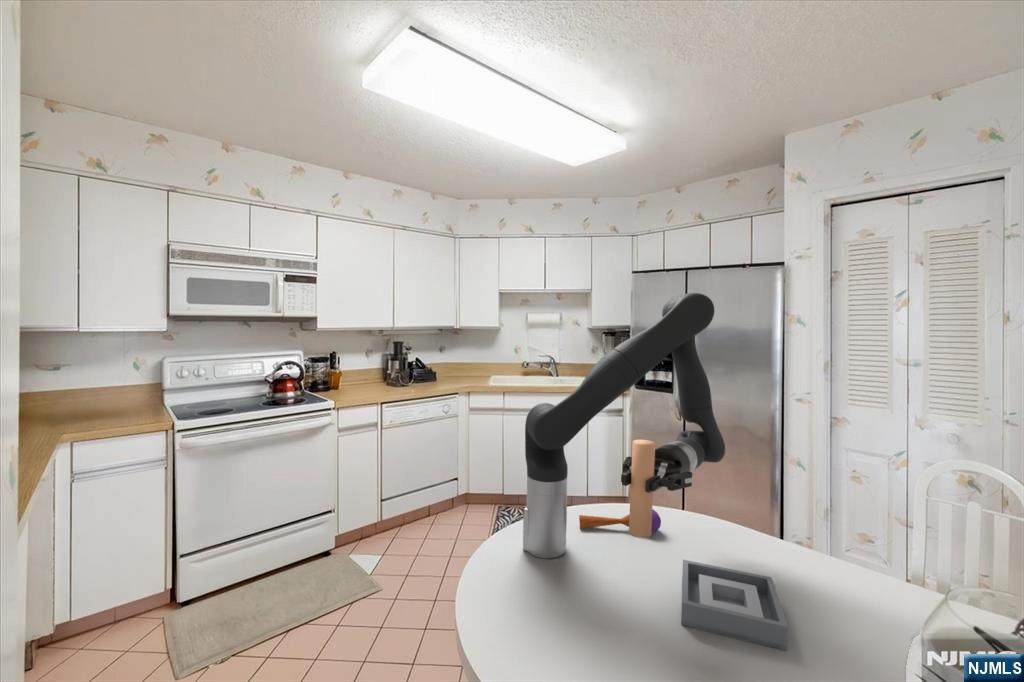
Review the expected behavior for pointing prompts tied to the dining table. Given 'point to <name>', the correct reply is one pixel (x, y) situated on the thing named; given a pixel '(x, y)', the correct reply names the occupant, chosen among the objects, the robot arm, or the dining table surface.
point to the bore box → (732, 604)
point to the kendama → (615, 521)
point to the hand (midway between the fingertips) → (635, 483)
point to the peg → (641, 488)
